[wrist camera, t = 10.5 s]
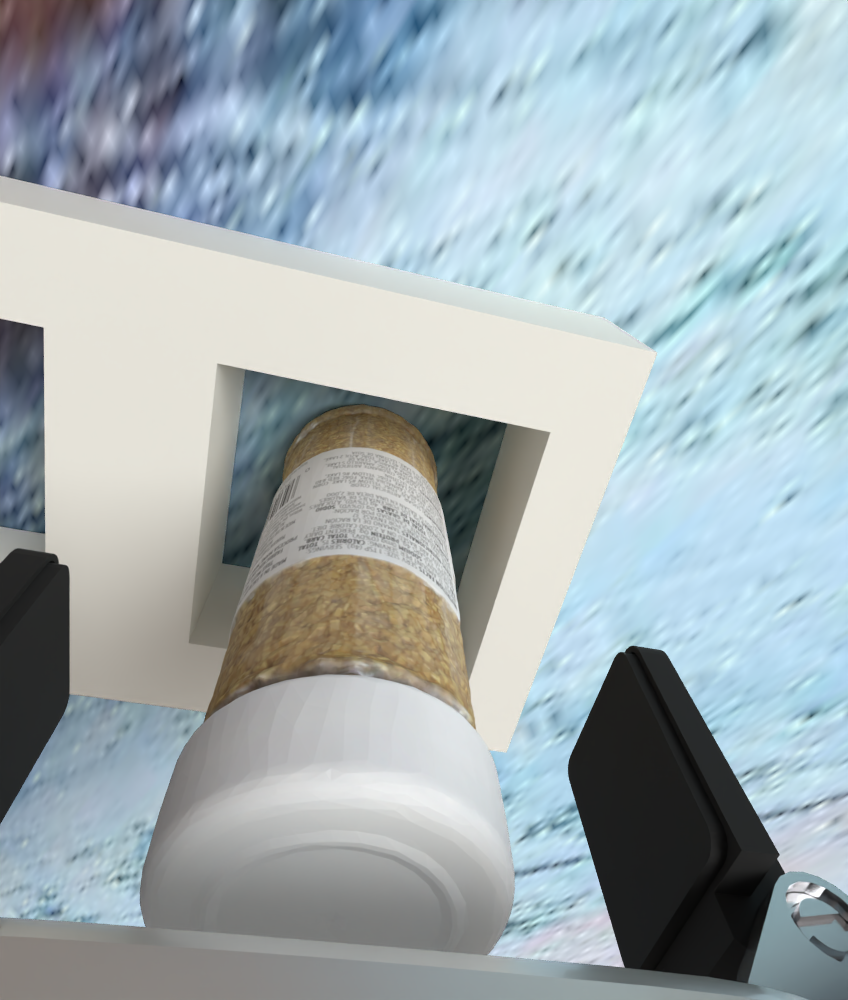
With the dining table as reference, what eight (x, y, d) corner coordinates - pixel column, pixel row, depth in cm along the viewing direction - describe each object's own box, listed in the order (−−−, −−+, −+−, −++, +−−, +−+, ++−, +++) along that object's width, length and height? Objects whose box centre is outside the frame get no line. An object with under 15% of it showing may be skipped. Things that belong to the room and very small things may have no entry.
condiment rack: (-309, 103, 15) (-524, 81, 12) (604, 317, 18) (657, 352, 15) (-220, 554, 20) (-351, 638, 17) (487, 663, 23) (506, 752, 20)
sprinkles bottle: (372, 565, 21) (358, 1073, 9) (252, 481, 20) (51, 958, 8) (470, 462, 20) (602, 903, 8) (348, 364, 19) (285, 724, 7)
